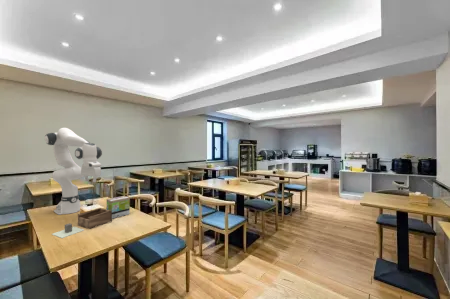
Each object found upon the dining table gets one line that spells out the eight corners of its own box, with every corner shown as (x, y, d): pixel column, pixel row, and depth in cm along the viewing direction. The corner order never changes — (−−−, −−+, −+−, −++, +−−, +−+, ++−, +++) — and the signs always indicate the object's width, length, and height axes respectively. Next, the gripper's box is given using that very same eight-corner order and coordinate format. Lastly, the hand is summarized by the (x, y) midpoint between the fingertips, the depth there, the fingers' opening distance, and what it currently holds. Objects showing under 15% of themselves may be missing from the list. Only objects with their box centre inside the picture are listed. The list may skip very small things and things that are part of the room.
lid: (51, 235, 133) (51, 226, 133) (74, 227, 145) (74, 219, 145) (61, 239, 127) (61, 230, 127) (84, 231, 139) (84, 222, 139)
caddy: (77, 225, 148) (77, 214, 148) (100, 217, 163) (99, 208, 163) (89, 229, 141) (89, 217, 141) (111, 221, 156) (111, 210, 156)
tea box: (111, 219, 160) (111, 201, 160) (106, 216, 166) (105, 198, 166) (130, 214, 172) (129, 197, 172) (124, 211, 178) (124, 195, 178)
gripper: (78, 163, 157) (78, 181, 157) (93, 164, 148) (94, 183, 148) (86, 163, 163) (87, 179, 163) (102, 164, 153) (102, 182, 154)
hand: (90, 181), depth 155 cm, fingers open, 8 cm apart
